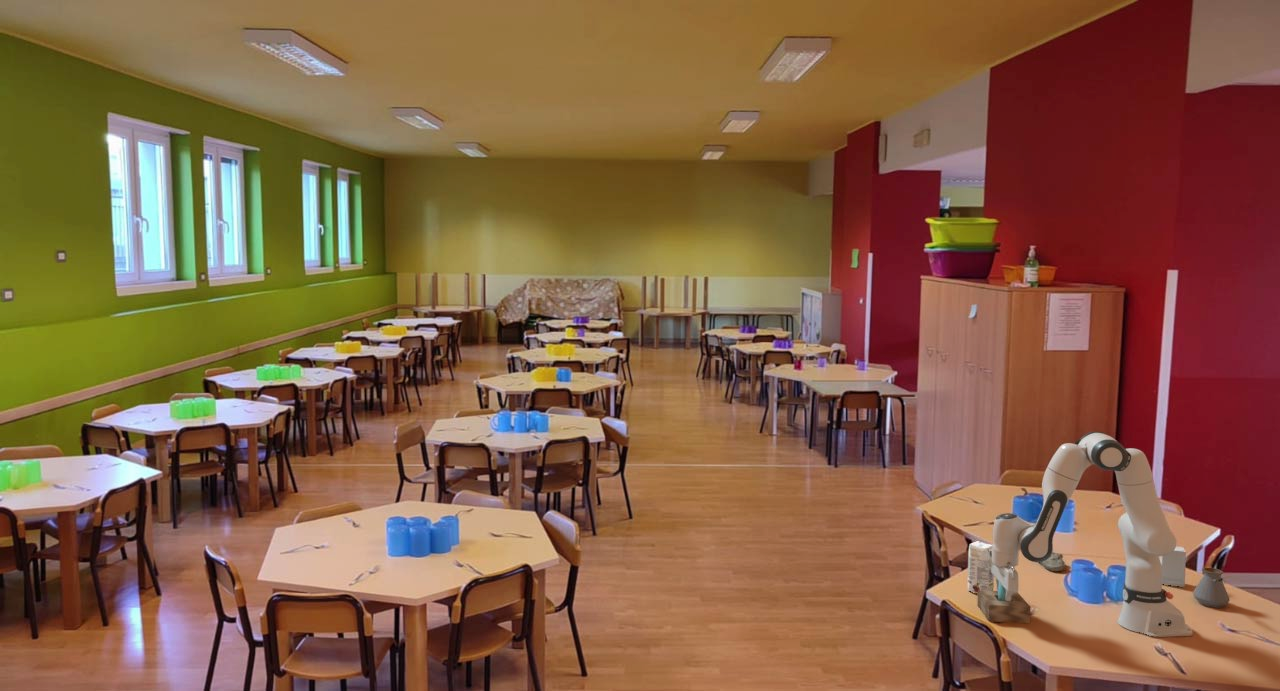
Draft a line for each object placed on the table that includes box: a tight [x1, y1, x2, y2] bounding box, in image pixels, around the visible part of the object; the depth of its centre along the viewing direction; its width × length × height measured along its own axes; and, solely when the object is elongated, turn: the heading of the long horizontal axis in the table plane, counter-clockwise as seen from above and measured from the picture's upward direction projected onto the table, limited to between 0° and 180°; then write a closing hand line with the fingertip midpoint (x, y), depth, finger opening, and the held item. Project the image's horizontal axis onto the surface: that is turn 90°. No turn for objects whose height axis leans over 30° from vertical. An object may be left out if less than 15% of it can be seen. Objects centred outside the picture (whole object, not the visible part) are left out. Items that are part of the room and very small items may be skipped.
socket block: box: [976, 590, 1031, 624], centre depth 311 cm, size 14×14×6 cm
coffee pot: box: [1192, 567, 1231, 609], centre depth 316 cm, size 21×12×15 cm, turn 156°
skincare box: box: [1159, 546, 1187, 588], centre depth 340 cm, size 8×6×15 cm
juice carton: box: [967, 540, 995, 595], centre depth 332 cm, size 8×9×19 cm
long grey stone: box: [1039, 551, 1066, 572], centre depth 370 cm, size 35×5×10 cm
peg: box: [997, 582, 1006, 601], centre depth 311 cm, size 4×4×12 cm
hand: (1003, 595), depth 311 cm, fingers open, 8 cm apart
